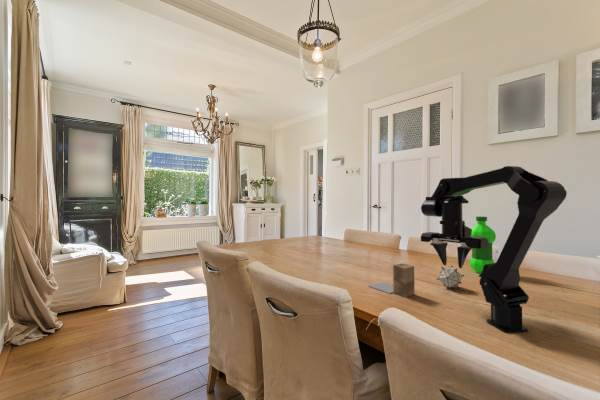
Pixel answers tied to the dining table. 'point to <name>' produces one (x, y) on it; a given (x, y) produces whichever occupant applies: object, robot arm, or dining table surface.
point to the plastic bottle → (483, 254)
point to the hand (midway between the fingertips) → (452, 266)
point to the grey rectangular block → (403, 280)
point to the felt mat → (383, 287)
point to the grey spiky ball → (450, 277)
